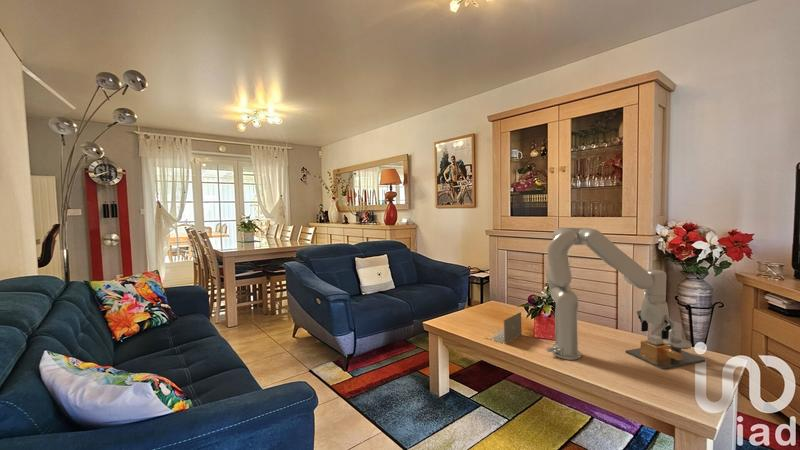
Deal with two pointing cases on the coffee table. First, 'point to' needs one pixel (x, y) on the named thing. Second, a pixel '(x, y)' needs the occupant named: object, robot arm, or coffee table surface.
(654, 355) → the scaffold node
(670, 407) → the coffee table surface
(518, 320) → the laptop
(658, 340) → the grey block
